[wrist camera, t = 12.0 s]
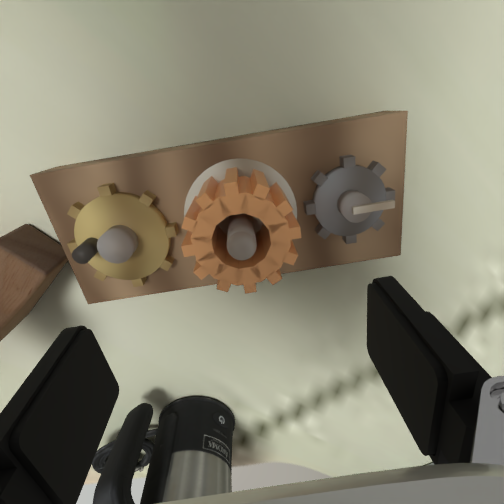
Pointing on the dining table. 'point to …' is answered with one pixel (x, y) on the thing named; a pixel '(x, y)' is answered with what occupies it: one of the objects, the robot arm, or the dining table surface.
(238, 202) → the orange gear
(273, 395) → the dining table surface
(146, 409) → the milk frother
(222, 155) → the gear board
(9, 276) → the wooden block
